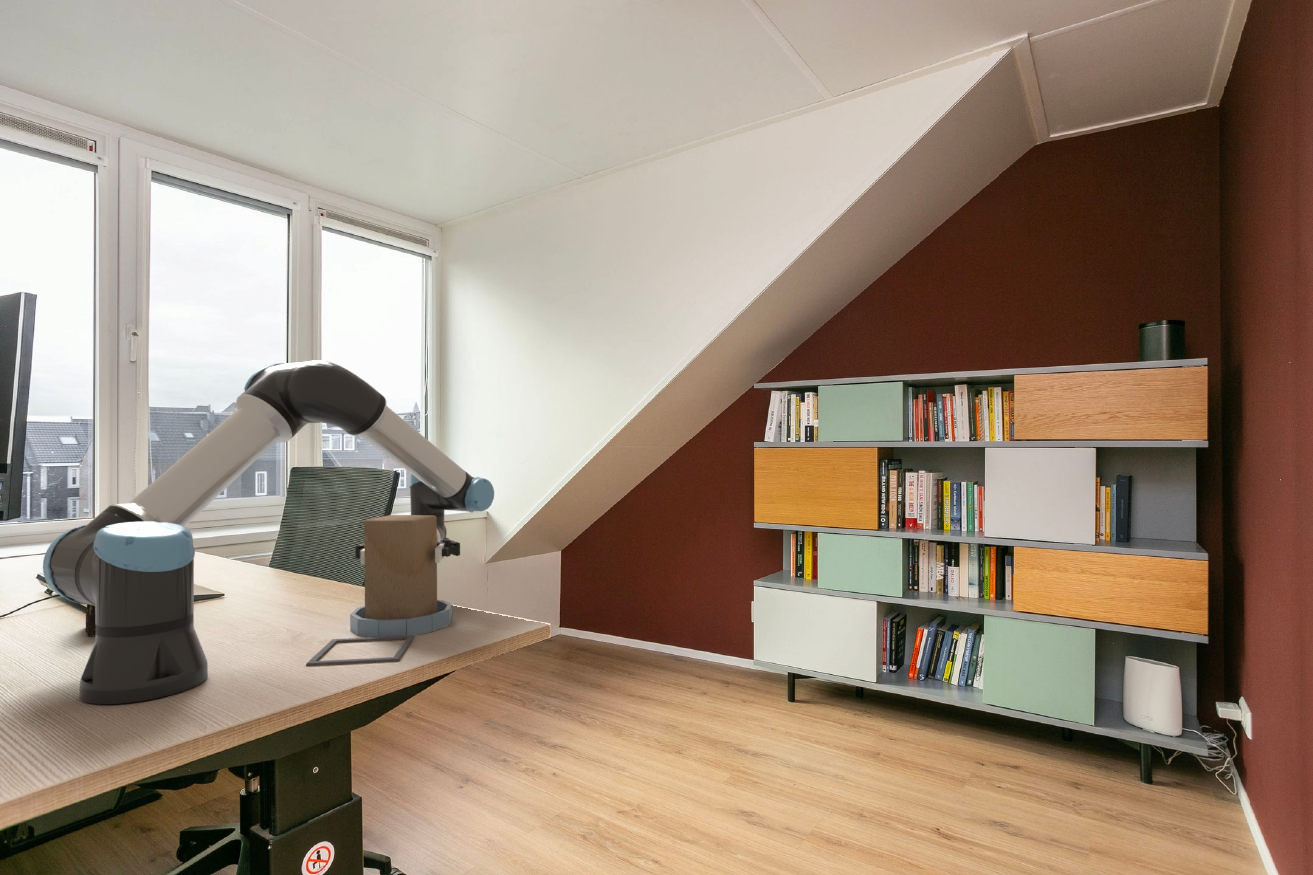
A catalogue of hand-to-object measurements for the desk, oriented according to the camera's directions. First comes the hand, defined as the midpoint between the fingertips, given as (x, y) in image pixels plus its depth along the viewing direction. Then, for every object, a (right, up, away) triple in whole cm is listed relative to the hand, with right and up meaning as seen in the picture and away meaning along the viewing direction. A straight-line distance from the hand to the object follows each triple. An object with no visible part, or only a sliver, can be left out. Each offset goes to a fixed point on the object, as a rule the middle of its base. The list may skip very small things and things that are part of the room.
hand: (400, 556), depth 136 cm
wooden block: (0, -13, +2) cm, 13 cm away
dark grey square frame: (-1, -13, -15) cm, 20 cm away
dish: (0, -14, +2) cm, 14 cm away
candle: (-55, -14, +2) cm, 57 cm away
